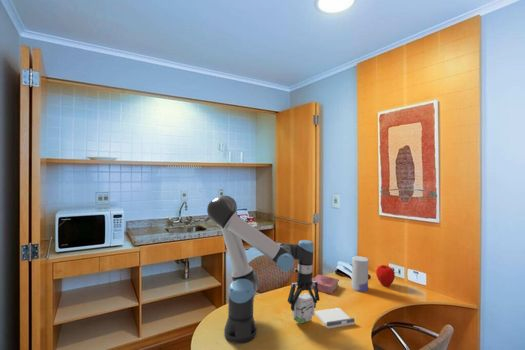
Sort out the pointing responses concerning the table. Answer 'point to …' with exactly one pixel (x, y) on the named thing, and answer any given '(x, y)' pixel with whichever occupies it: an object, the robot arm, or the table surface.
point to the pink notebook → (326, 284)
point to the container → (360, 273)
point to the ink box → (304, 308)
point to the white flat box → (334, 318)
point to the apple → (385, 275)
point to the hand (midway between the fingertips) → (303, 315)
